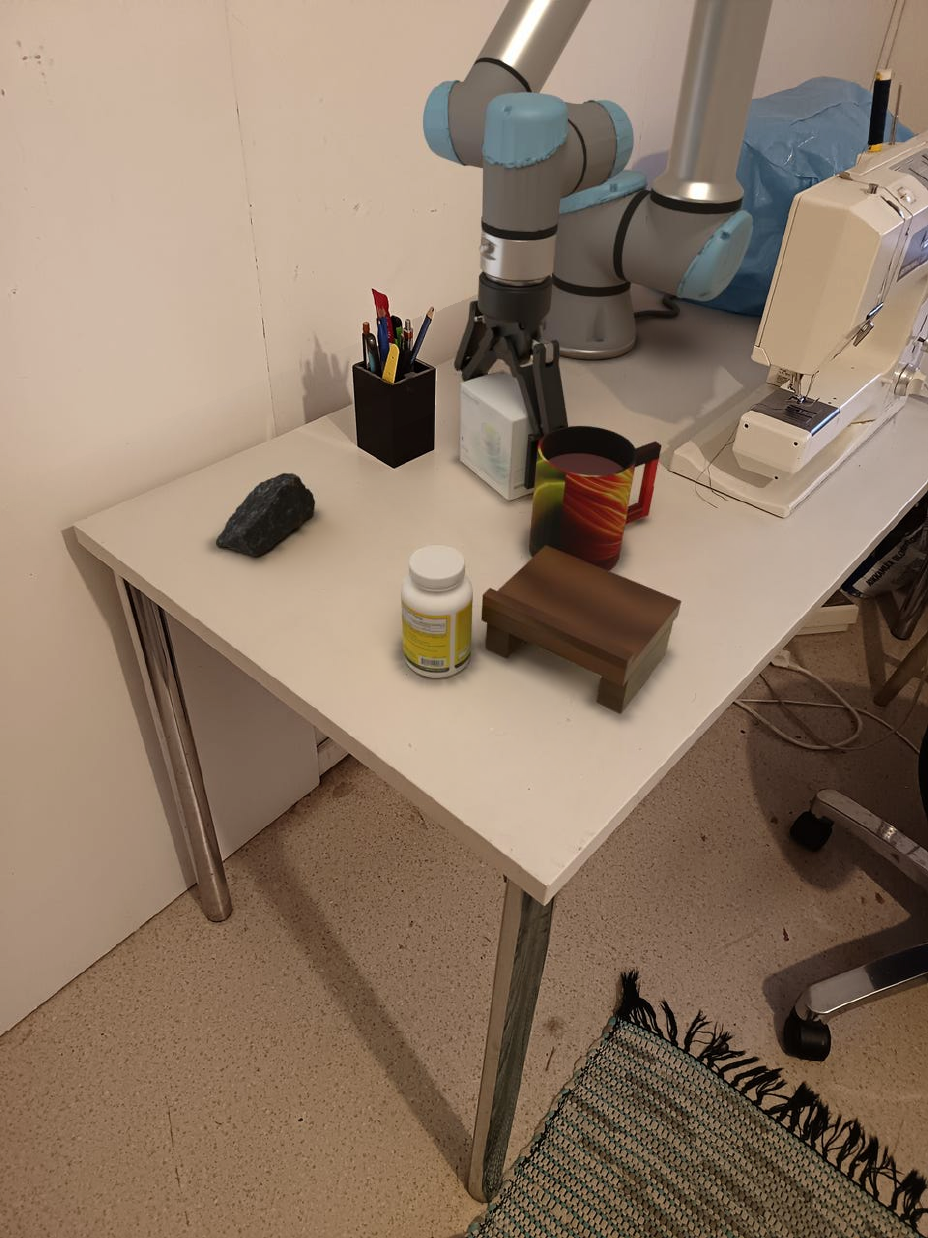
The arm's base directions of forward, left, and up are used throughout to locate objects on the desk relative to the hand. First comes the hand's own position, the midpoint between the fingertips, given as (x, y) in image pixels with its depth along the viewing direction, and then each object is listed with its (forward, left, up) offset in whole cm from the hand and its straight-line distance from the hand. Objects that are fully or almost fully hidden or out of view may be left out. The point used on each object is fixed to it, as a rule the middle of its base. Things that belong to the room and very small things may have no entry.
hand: (504, 458), depth 102 cm
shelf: (+22, +22, -2) cm, 31 cm away
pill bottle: (+30, +12, -2) cm, 32 cm away
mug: (+6, +14, -2) cm, 15 cm away
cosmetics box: (0, 0, -2) cm, 2 cm away
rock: (+25, -14, -2) cm, 29 cm away
